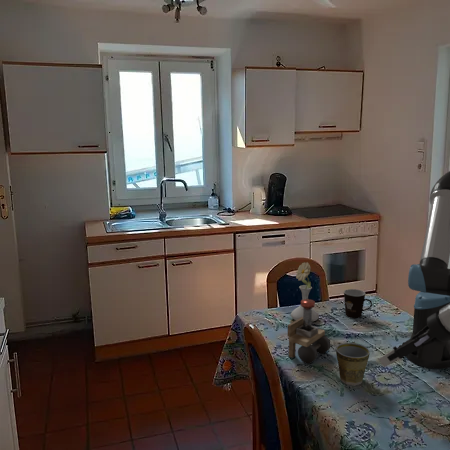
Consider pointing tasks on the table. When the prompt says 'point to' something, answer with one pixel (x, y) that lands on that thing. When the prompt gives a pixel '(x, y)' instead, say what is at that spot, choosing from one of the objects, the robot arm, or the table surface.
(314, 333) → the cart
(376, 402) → the table surface
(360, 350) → the ceramic cup
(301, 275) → the flower in vase
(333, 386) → the table surface
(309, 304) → the pin
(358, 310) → the coffee mug
